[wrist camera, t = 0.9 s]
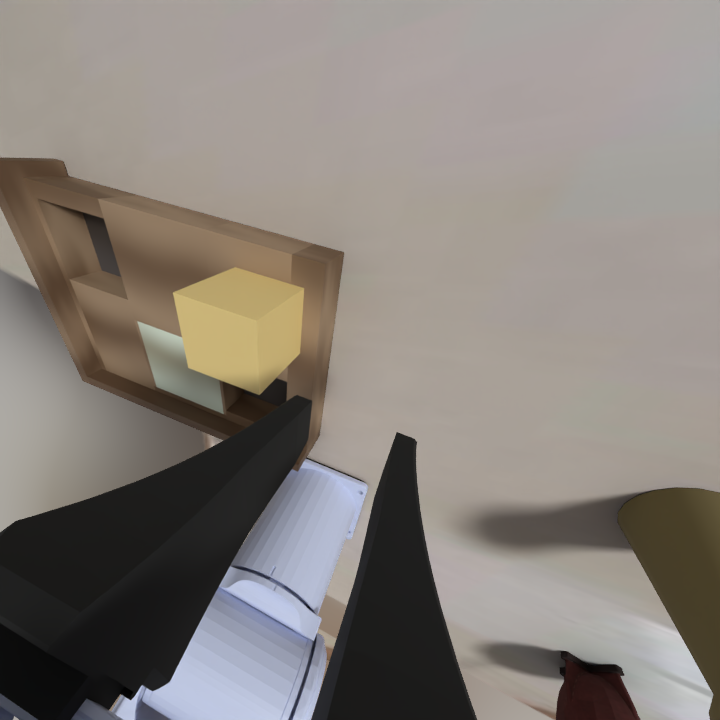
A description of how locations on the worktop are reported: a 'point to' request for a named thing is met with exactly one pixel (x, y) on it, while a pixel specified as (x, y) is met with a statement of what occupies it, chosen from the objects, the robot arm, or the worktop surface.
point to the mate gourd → (593, 692)
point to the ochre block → (240, 327)
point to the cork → (683, 567)
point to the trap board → (160, 293)
